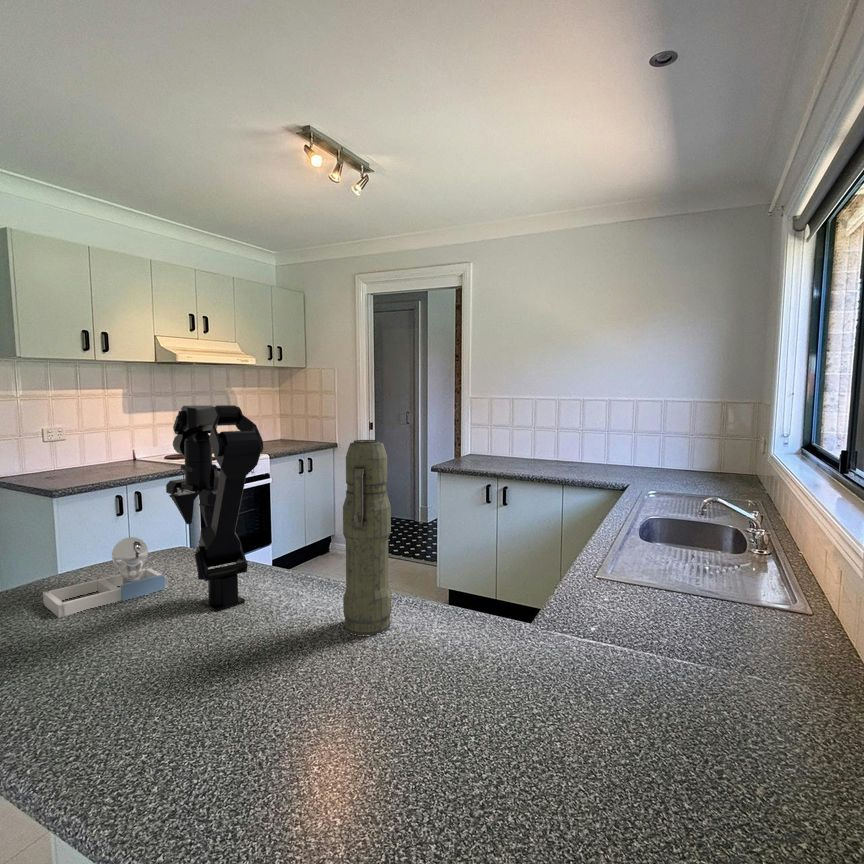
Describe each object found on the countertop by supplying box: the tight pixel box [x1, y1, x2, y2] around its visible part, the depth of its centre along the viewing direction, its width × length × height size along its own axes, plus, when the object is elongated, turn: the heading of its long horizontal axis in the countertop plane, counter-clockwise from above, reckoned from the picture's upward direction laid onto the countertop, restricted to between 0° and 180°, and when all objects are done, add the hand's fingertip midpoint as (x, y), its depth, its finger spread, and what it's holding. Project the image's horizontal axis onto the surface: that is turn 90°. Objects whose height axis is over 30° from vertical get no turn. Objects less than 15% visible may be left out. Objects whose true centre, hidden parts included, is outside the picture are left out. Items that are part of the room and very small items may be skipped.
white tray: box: [42, 567, 169, 619], centre depth 111 cm, size 11×21×4 cm, turn 140°
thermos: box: [342, 439, 392, 636], centre depth 96 cm, size 9×12×35 cm
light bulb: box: [111, 536, 149, 584], centre depth 114 cm, size 7×7×12 cm
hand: (199, 527), depth 118 cm, fingers open, 9 cm apart
